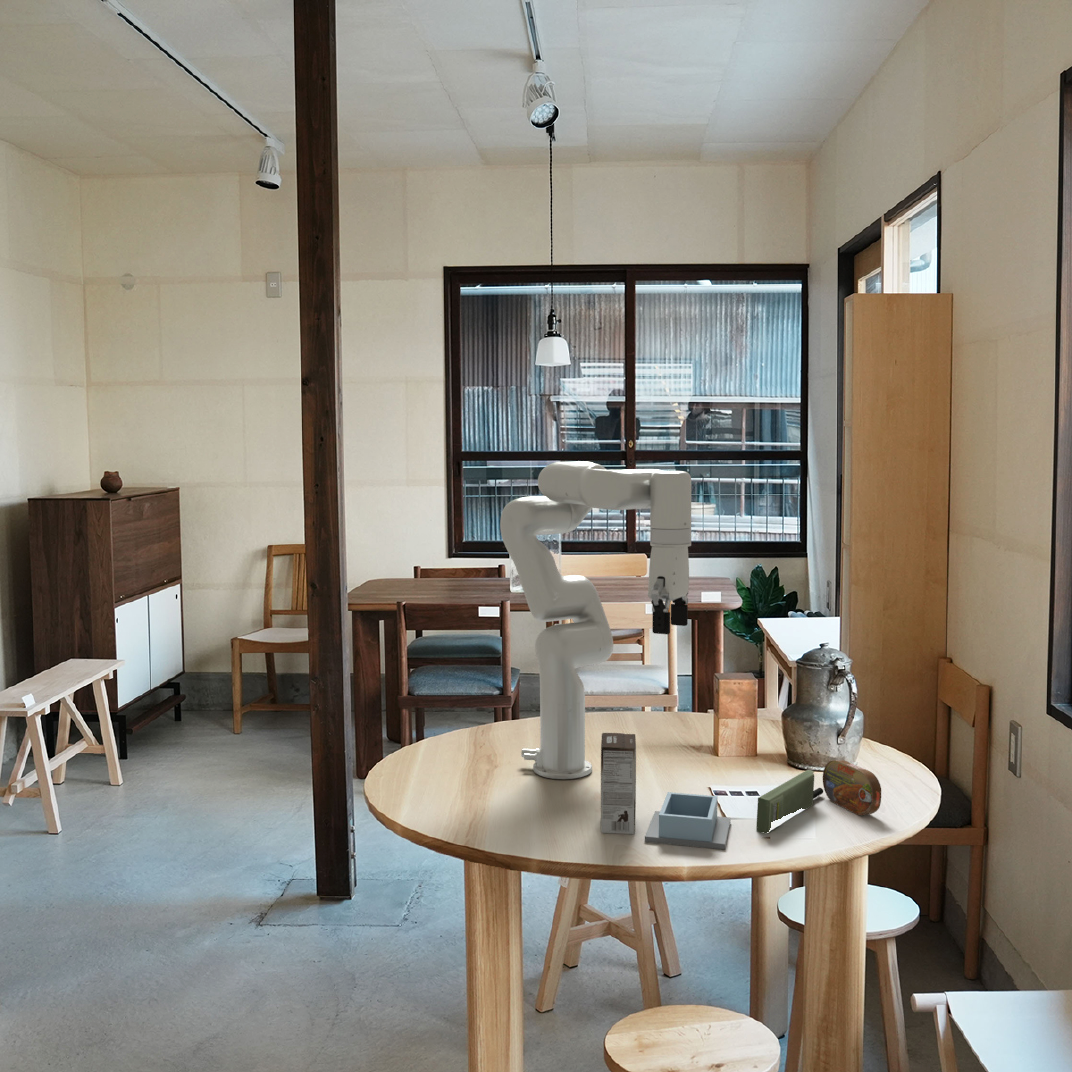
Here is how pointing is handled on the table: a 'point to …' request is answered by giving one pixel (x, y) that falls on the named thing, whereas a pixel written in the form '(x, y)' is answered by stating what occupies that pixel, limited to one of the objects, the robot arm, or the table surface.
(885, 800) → the table surface
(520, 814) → the table surface
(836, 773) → the tin
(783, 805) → the handheld radio
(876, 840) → the table surface
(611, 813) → the coffee box
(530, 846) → the table surface
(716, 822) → the light blue open box
